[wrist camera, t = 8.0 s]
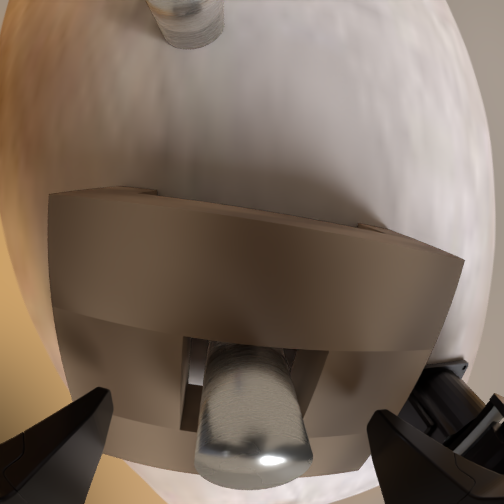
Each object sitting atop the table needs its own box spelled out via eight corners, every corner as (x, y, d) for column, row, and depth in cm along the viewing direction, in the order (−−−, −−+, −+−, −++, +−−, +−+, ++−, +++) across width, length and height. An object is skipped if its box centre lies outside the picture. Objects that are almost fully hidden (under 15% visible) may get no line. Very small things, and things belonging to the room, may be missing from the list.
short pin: (229, 6, 10) (229, -52, 6) (217, 51, 11) (210, -5, 6) (171, 4, 10) (151, -50, 5) (156, 48, 11) (125, -1, 6)
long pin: (278, 295, 14) (329, 433, 6) (266, 347, 15) (295, 489, 6) (216, 287, 14) (195, 428, 5) (209, 340, 15) (192, 485, 6)
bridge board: (389, 229, 14) (464, 260, 8) (331, 403, 17) (358, 470, 11) (120, 186, 12) (49, 194, 7) (121, 381, 15) (90, 449, 9)
